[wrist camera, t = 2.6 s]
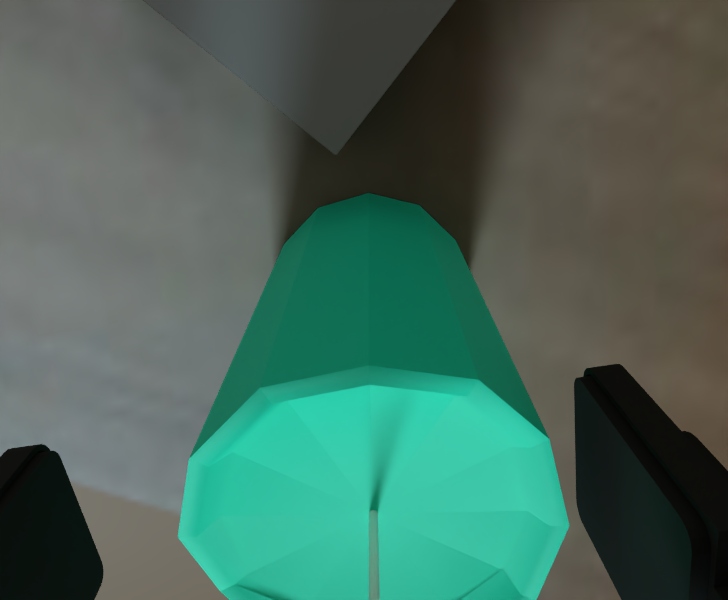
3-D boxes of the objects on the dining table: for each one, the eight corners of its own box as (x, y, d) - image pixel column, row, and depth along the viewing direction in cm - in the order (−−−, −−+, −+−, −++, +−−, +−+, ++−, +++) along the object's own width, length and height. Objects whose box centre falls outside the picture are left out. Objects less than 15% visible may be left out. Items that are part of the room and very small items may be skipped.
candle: (266, 195, 18) (98, 430, 7) (470, 190, 18) (643, 419, 7) (282, 374, 20) (176, 773, 9) (463, 371, 20) (583, 768, 9)
